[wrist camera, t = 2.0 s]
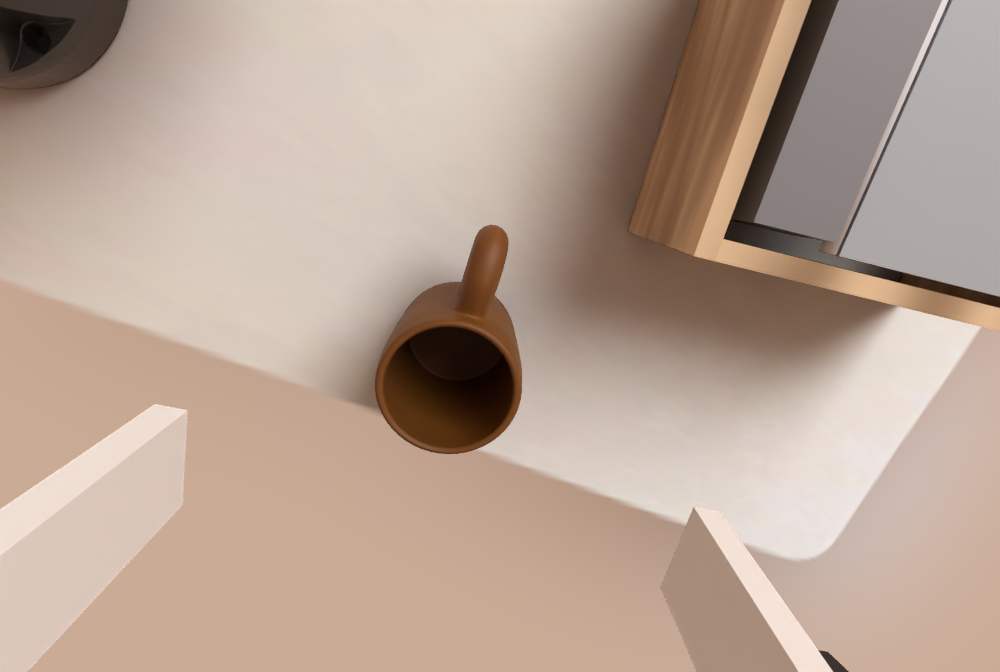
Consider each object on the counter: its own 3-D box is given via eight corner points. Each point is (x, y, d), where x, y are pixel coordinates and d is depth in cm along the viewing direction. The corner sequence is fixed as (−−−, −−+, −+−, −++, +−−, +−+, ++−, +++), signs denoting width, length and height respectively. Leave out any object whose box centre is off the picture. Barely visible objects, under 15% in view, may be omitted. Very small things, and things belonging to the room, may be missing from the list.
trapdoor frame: (627, 231, 32) (693, 256, 22) (731, -102, 26) (881, -272, 16) (905, 299, 34) (1083, 351, 24) (1053, 2, 28) (1362, -93, 18)
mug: (435, 196, 31) (415, 204, 22) (550, 233, 32) (576, 256, 23) (390, 368, 34) (356, 436, 25) (494, 397, 35) (498, 473, 26)
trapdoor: (716, 226, 25) (749, 233, 22) (842, -122, 21) (910, -186, 17) (964, 288, 26) (1037, 305, 22) (1139, -40, 21) (1264, -86, 18)
